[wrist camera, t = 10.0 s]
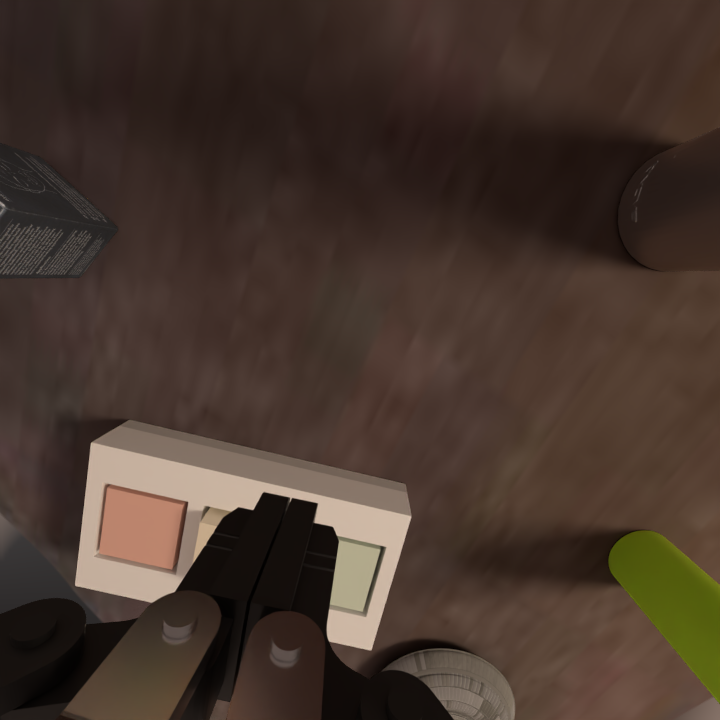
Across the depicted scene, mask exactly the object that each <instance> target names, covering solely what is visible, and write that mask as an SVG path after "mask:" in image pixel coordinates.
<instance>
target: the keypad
mask: <svg viewBox="0 0 720 720" xmlns="http://www.w3.org/2000/svg"><path fill="white" fill-rule="evenodd" d="M111 484H112V485H116V486H121V487H125V488H130V489H134V490H138V491H143V492H147V493H152V494H156V495H160V496H165V497H169V498H174V499H178V500H182V501H187V502H188V508H187V514H186V520H185V525H184V531H183V537H182V543H181V549H180V555H179V560H178V562H177V563H176V565H175V566H174V568H173V569H172V570H171V569H167V568H162V567H158V566H153V565H149V564H144V563H140V562H135V561H131V560H126V559H122V558H117V557H113V556H108V555H104V554H99V550H100V542H101V534H102V526H103V518H104V510H105V502H106V493H107V488H108V487H109V486H110V485H111ZM263 492H266V493H271V494H276V495H281V496H285V497H290V501H291V499H292V498H296V499H300V500H305V501H310V502H315V503H318V507H317V512H316V517H315V522H314V523H318V524H322V525H327V526H332V527H333V528H334V530H335V532H336V535H337V536H341V537H345V538H349V539H354V540H358V541H363V542H367V543H371V544H376V545H380V549H381V550H380V553H379V557H378V560H377V564H376V567H375V571H374V574H373V578H372V581H371V585H370V588H369V592H368V595H367V598H366V602H365V605H364V609H363V612H361V611H357V610H352V609H348V608H343V607H339V606H334V605H330V607H329V614H328V621H327V637H328V640H329V641H330V642H335V643H339V644H344V645H348V646H353V647H357V648H362V649H367V650H372V646H373V643H374V640H375V636H376V633H377V630H378V626H379V623H380V620H381V616H382V613H383V610H384V606H385V603H386V600H387V596H388V593H389V590H390V586H391V583H392V580H393V576H394V573H395V570H396V566H397V563H398V560H399V556H400V553H401V550H402V546H403V543H404V540H405V536H406V533H407V530H408V526H409V523H410V520H411V511H410V506H409V500H408V495H407V490H406V484H404V483H399V482H395V481H391V480H387V479H382V478H378V477H374V476H369V475H365V474H361V473H356V472H352V471H348V470H344V469H339V468H335V467H331V466H326V465H322V464H318V463H314V462H309V461H305V460H301V459H296V458H292V457H288V456H284V455H279V454H275V453H271V452H266V451H262V450H258V449H253V448H249V447H245V446H241V445H236V444H232V443H228V442H223V441H219V440H215V439H211V438H206V437H202V436H198V435H193V434H189V433H185V432H180V431H176V430H172V429H168V428H163V427H159V426H155V425H150V424H146V423H142V422H138V421H133V420H128V421H127V422H125V423H123V424H121V425H120V426H118V427H116V428H115V429H113V430H111V431H110V432H108V433H106V434H105V435H103V436H101V437H100V438H98V439H96V440H94V441H93V442H91V448H90V457H89V466H88V475H87V484H86V493H85V502H84V510H83V519H82V528H81V537H80V546H79V555H78V564H77V573H76V582H75V586H79V587H83V588H88V589H92V590H97V591H102V592H106V593H111V594H115V595H120V596H124V597H129V598H134V599H138V600H143V601H147V602H152V603H153V602H154V601H156V600H157V599H159V598H161V597H163V596H165V595H167V594H170V593H173V592H175V591H176V589H177V588H178V586H179V584H180V583H181V581H182V580H183V578H184V577H185V575H186V574H187V572H188V571H189V569H190V567H191V566H192V564H193V558H194V553H195V547H196V542H197V536H198V530H199V525H200V522H201V520H202V519H203V517H204V516H205V514H206V513H207V511H208V510H209V508H210V507H213V508H218V509H222V510H226V511H231V512H232V511H233V510H235V509H236V508H238V507H240V508H245V509H250V510H254V508H255V506H256V504H257V502H258V501H259V499H260V497H261V495H262V493H263Z"/></svg>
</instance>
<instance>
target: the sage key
mask: <svg viewBox="0 0 720 720" xmlns="http://www.w3.org/2000/svg"><path fill="white" fill-rule="evenodd" d="M337 537H338V540H339V545H338V552H337V558H336V566H335V572H334V580H333V586H332V593H331V600H330V605H334V606H339V607H343V608H348V609H352V610H357V611H361V612H363V609H364V605H365V602H366V598H367V595H368V592H369V588H370V585H371V581H372V578H373V574H374V571H375V567H376V564H377V560H378V557H379V553H380V550H381V549H380V545H376V544H371V543H367V542H363V541H358V540H354V539H349V538H345V537H341V536H337Z"/></svg>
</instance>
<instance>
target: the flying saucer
mask: <svg viewBox="0 0 720 720" xmlns="http://www.w3.org/2000/svg"><path fill="white" fill-rule="evenodd" d="M386 670H399V671H404V672H407V673H410V674H412V675H414V676H415V677H417V678H418V679H420V680H421V681H423V682H424V683H425V684H426V685H427V686H428V687H429V688H430V689H431V691H432V692H433V693H434V694H435V696H436V697H437V698H438V699H439V701H440V702H441V703H442V705H443V706H444V707H445V709H446V710H447V711H448V713H449V714H450V715H451V716H452V718H453V719H454V720H514V716H515V700H514V696H513V692H512V690H511V687H510V685H509V683H508V682H507V680H506V679H505V677H504V676H503V675H502V674H501V672H500V671H499V670H498V669H496V668H495V667H494V666H493V665H492V664H490V663H489V662H487V661H486V660H484V659H482V658H480V657H478V656H476V655H474V654H471V653H468V652H465V651H461V650H456V649H447V648H434V649H425V650H420V651H416V652H413V653H410V654H407V655H405V656H403V657H401V658H399V659H397V660H395V661H394V662H392V663H391V664H389V665H388V666H387V667H386V668H384V669H383V670H382V671H386ZM382 671H381V672H382Z"/></svg>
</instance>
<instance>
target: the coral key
mask: <svg viewBox="0 0 720 720" xmlns="http://www.w3.org/2000/svg"><path fill="white" fill-rule="evenodd" d="M187 508H188V502H187V501H182V500H178V499H174V498H169V497H165V496H160V495H156V494H152V493H147V492H143V491H138V490H134V489H130V488H125V487H121V486H116V485H112V484H111V485H110V486H109V487H108V488H107V493H106V502H105V510H104V518H103V526H102V534H101V542H100V550H99V554H104V555H108V556H113V557H117V558H122V559H126V560H131V561H135V562H140V563H144V564H149V565H153V566H158V567H162V568H167V569H171V570H172V569H173V568H174V566H175V565H176V563H177V562H178V560H179V555H180V549H181V543H182V537H183V531H184V525H185V520H186V514H187Z"/></svg>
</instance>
